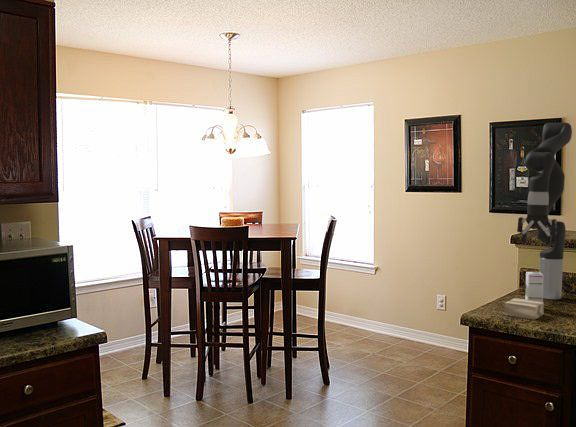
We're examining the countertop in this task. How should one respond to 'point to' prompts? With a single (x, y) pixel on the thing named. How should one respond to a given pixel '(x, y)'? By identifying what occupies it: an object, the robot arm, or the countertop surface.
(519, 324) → the countertop surface
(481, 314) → the countertop surface
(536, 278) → the syrup box
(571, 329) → the countertop surface
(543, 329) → the countertop surface
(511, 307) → the maple block
